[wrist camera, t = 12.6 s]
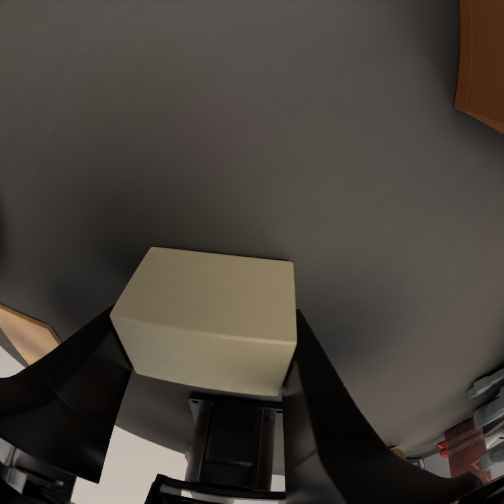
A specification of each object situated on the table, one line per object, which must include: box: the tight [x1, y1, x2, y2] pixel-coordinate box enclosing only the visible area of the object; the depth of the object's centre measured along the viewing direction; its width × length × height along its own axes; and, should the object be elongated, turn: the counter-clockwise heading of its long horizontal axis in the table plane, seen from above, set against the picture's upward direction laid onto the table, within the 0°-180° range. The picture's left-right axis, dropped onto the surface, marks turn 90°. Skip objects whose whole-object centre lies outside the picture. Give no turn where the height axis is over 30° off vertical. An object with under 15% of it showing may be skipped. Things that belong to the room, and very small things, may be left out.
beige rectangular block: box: [110, 247, 297, 396], centre depth 9 cm, size 3×5×3 cm, turn 86°
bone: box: [484, 424, 504, 448], centre depth 22 cm, size 18×5×4 cm, turn 81°
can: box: [445, 417, 491, 484], centre depth 18 cm, size 6×6×14 cm
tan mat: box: [0, 304, 61, 365], centre depth 17 cm, size 10×10×1 cm
